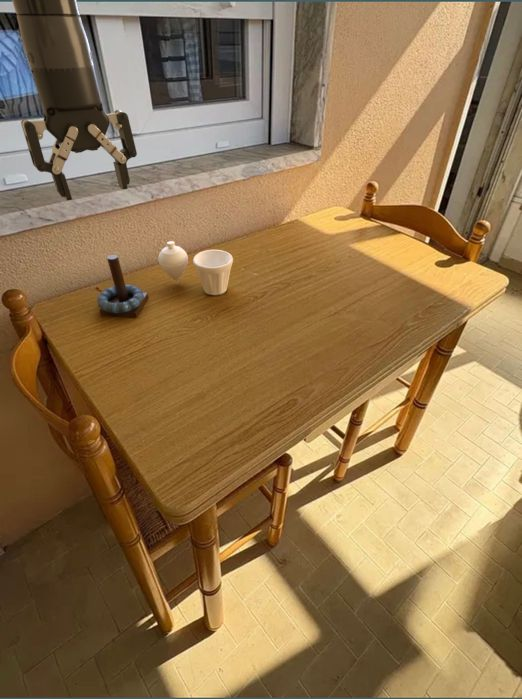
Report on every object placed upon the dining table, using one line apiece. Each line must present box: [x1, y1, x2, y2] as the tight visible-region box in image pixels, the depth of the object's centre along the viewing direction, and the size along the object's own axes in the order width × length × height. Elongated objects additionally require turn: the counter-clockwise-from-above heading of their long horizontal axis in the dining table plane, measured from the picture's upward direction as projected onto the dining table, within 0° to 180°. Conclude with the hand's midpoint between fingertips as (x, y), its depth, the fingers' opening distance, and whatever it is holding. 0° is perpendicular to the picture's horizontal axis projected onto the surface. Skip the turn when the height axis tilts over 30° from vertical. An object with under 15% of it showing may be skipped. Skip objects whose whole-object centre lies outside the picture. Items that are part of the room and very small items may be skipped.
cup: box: [192, 249, 234, 297], centre depth 99 cm, size 10×10×9 cm
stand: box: [98, 254, 149, 319], centre depth 91 cm, size 9×9×14 cm
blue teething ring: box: [96, 283, 144, 313], centre depth 93 cm, size 11×11×2 cm
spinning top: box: [157, 240, 189, 285], centre depth 100 cm, size 8×8×12 cm
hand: (96, 193), depth 59 cm, fingers open, 8 cm apart
